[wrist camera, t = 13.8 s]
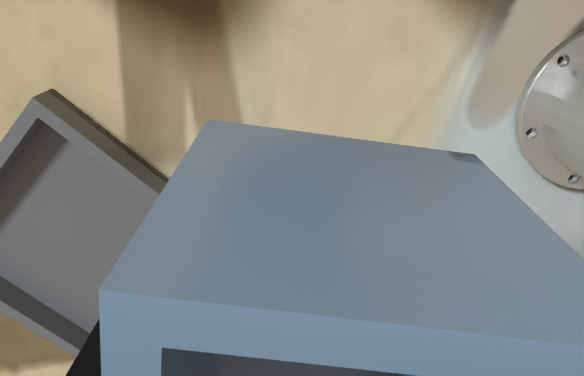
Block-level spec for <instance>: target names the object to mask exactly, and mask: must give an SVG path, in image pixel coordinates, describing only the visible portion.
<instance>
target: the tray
mask: <svg viewBox="0 0 584 376" xmlns="http://www.w3.org/2000/svg"><path fill="white" fill-rule="evenodd" d="M168 181H169V179H168V178H166V177H165V176H164V175H162V174H161V173H160V172H159V171H157V170H156V169H155V168H153V167H152V166H151V165H150V164H148V163H147V162H146V161H145V160H143V159H142V158H141V157H139V156H138V155H137V154H136V153H134V152H133V151H132V150H130V149H129V148H128V147H127V146H125V145H124V144H123V143H122V142H120V141H119V140H118V139H116V138H115V137H114V136H113V135H111V134H110V133H109V132H107V131H106V130H105V129H104V128H102V127H101V126H100V125H98V124H97V123H96V122H95V121H93V120H92V119H91V118H90V117H88V116H87V115H86V114H84V113H83V112H82V111H81V110H79V109H78V108H77V107H75V106H74V105H73V104H72V103H70V102H69V101H68V100H66V99H65V98H64V97H63V96H61V95H60V94H59V93H58V92H56V91H55V90H54V89H50V90H48V91H46V92H44V93H41V94H39V95H37V96H35V97H32V99H31V100H30V102H29V103H28V104H27V106H26V107H25V109H24V110H23V112H22V113H21V114H20V116H19V117H18V119H17V120H16V121H15V123H14V124H13V126H12V127H11V128H10V130H9V131H8V133H7V134H6V136H5V137H4V138H3V140H2V141H1V143H0V311H1V312H3V313H4V314H6V315H7V316H9V317H11V318H12V319H14V320H15V321H17V322H19V323H20V324H22V325H24V326H25V327H27V328H28V329H30V330H32V331H33V332H35V333H36V334H38V335H40V336H41V337H43V338H45V339H46V340H48V341H49V342H51V343H53V344H54V345H56V346H57V347H59V348H61V349H62V350H64V351H66V352H67V353H69V354H70V355H72V356H74V357H75V358H76V357H77V356H78V354H79V352H80V350H81V349H82V347H83V345H84V344H85V342H86V340H87V338H88V337H89V335H90V333H91V332H92V330H93V328H94V326H95V325H96V323H97V321H98V320H99V289H100V287H101V286H102V284H103V283H104V281H105V279H106V278H107V276H108V275H109V273H110V272H111V270H112V268H113V267H114V265H115V264H116V262H117V261H118V259H119V258H120V256H121V254H122V253H123V251H124V250H125V248H126V247H127V245H128V243H129V242H130V240H131V239H132V237H133V236H134V234H135V233H136V231H137V229H138V228H139V226H140V225H141V223H142V222H143V220H144V219H145V217H146V215H147V214H148V212H149V211H150V209H151V208H152V206H153V204H154V203H155V201H156V200H157V198H158V197H159V195H160V194H161V192H162V190H163V189H164V187H165V186H166V184H167V183H168Z"/></svg>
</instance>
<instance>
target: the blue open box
mask: <svg viewBox="0 0 584 376" xmlns="http://www.w3.org/2000/svg"><path fill="white" fill-rule="evenodd" d="M99 318H100V349H101V376H584V260H583V259H582V258H581V257H580V256H579V255H578V254H577V253H576V252H575V251H574V250H573V249H572V248H571V247H570V246H569V245H568V244H567V243H565V242H564V241H563V240H562V239H561V238H560V237H559V236H558V235H557V234H556V233H555V232H554V231H553V230H552V229H551V228H550V227H549V226H548V225H547V224H546V223H545V222H544V221H543V220H542V219H541V218H540V217H539V216H538V215H537V214H536V213H535V212H533V211H532V210H531V209H530V208H529V207H528V206H527V205H526V204H525V203H524V202H523V201H522V200H521V199H520V198H519V197H518V196H517V195H516V194H515V193H514V192H513V191H512V190H511V189H510V188H509V187H508V186H507V185H506V184H505V183H504V182H502V181H501V180H500V179H499V178H498V177H497V176H496V175H495V174H494V173H493V172H492V171H491V170H490V169H489V168H488V167H487V166H486V165H485V164H484V163H483V162H482V161H481V160H480V159H479V158H478V157H477V156H476V155H474V154H467V153H459V152H451V151H444V150H436V149H429V148H421V147H413V146H406V145H398V144H391V143H383V142H375V141H368V140H360V139H353V138H345V137H338V136H330V135H322V134H315V133H307V132H300V131H292V130H284V129H277V128H269V127H262V126H254V125H246V124H239V123H231V122H224V121H216V120H209V119H208V120H207V122H206V123H205V125H204V126H203V128H202V130H201V131H200V133H199V134H198V136H197V137H196V139H195V140H194V142H193V144H192V145H191V147H190V148H189V150H188V151H187V153H186V154H185V156H184V158H183V159H182V161H181V162H180V164H179V165H178V167H177V169H176V170H175V172H174V173H173V175H172V176H171V178H170V179H169V181H168V183H167V184H166V186H165V187H164V189H163V190H162V192H161V194H160V195H159V197H158V198H157V200H156V201H155V203H154V204H153V206H152V208H151V209H150V211H149V212H148V214H147V215H146V217H145V219H144V220H143V222H142V223H141V225H140V226H139V228H138V229H137V231H136V233H135V234H134V236H133V237H132V239H131V240H130V242H129V243H128V245H127V247H126V248H125V250H124V251H123V253H122V254H121V256H120V258H119V259H118V261H117V262H116V264H115V265H114V267H113V268H112V270H111V272H110V273H109V275H108V276H107V278H106V279H105V281H104V283H103V284H102V286H101V287H100V289H99Z"/></svg>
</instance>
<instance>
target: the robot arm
mask: <svg viewBox="0 0 584 376" xmlns="http://www.w3.org/2000/svg"><path fill="white" fill-rule="evenodd" d="M559 57H560V60H559V62H557V61H558V58H559ZM528 130H529V132H527V131H528ZM526 132H527V133H526ZM516 135H517V140H518V144H519V147H520V149H521V151H522V153H523V156H524V157H525V159H526V160H527V161H528V163H529V164H530V165H531V167H533V168H534V169H535V170H536V171H537V172H538V173H540V174H541V175H542V176H544V177H545V178H547V179H548V180H550V181H551V182H553V183H556V184H558V185H561V186H564V187H567V188H573V189H579V190H584V31H581V32H579V33H577V34H575V35H573V36H572V37H570V38H568V39H567V40H565V41H563V42H562V43H561V44H559V45H558V46H557V47H556V48H555V49H553V50H552V51H551V52H550V53H549V54H548V55H547V56H546V57H545V58H544V59H543V60H542V61H541V62H540V64H539V65H538V66H537V67H536V68H535V70H534V71H533V73H532V74H531V76H530V78H529V79H528V81H527V82H526V84H525V87H524V89H523V91H522V94H521V96H520V99H519V103H518V107H517V112H516ZM66 376H101V349H100V318H99V320H98V321H97V323H96V325H95V326H94V328H93V330H92V332H91V333H90V335H89V337H88V338H87V340H86V342H85V344H84V345H83V347H82V349H81V350H80V352H79V354H78V356H77V357H76V359H75V361H74V362H73V364H72V366H71V368H70V369H69V371H68V373H67V374H66Z"/></svg>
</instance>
